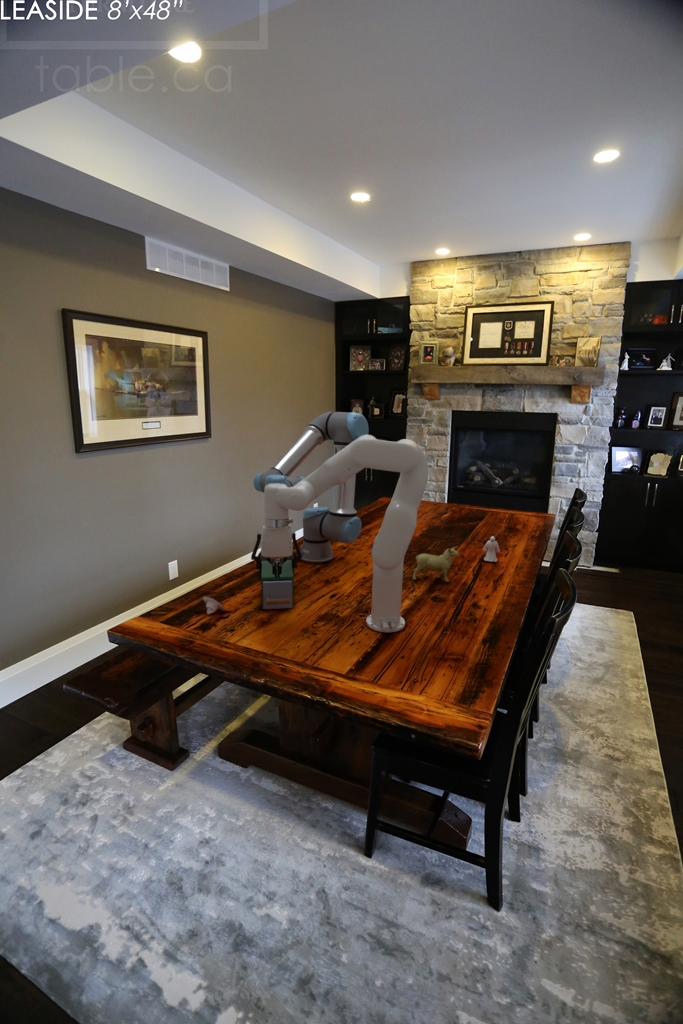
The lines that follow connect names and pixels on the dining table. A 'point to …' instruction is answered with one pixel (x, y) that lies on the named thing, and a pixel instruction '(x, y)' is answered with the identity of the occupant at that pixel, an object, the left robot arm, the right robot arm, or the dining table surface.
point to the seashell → (212, 605)
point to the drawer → (277, 594)
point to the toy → (436, 563)
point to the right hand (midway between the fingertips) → (277, 576)
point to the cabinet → (268, 575)
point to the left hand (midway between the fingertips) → (277, 576)
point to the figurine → (491, 550)
